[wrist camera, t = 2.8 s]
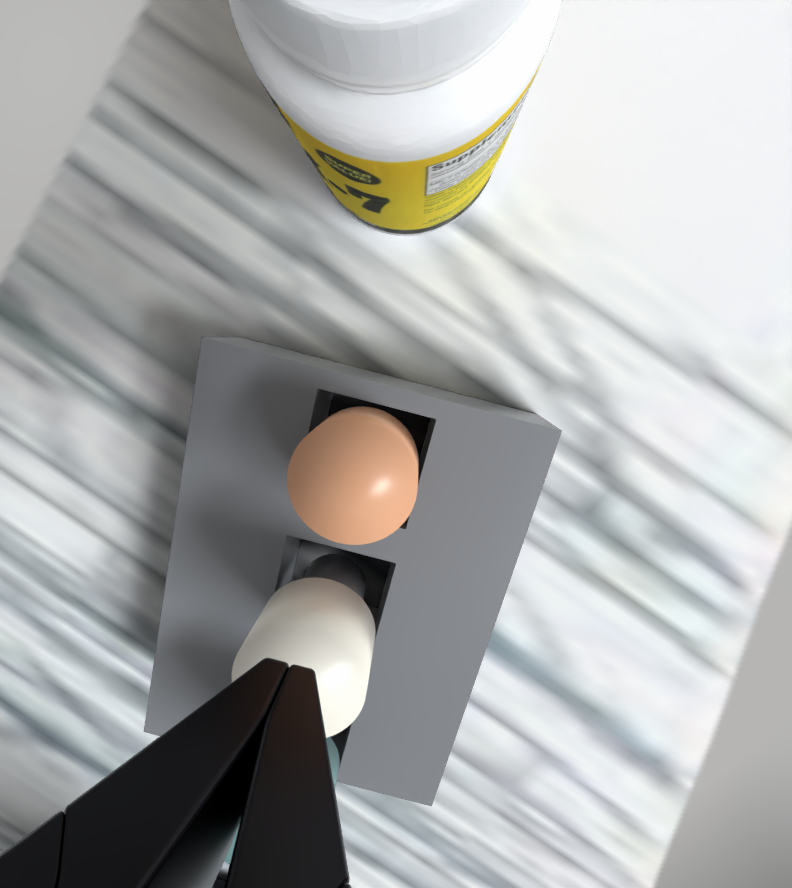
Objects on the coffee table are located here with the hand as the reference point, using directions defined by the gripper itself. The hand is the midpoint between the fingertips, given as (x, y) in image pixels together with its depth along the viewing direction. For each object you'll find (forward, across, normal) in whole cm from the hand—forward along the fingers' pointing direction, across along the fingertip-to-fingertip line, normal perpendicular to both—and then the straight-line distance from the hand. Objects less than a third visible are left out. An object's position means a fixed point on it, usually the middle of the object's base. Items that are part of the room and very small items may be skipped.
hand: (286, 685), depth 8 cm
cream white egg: (+6, 0, +1) cm, 6 cm away
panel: (+7, 0, +1) cm, 7 cm away
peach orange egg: (+7, 0, -3) cm, 7 cm away
